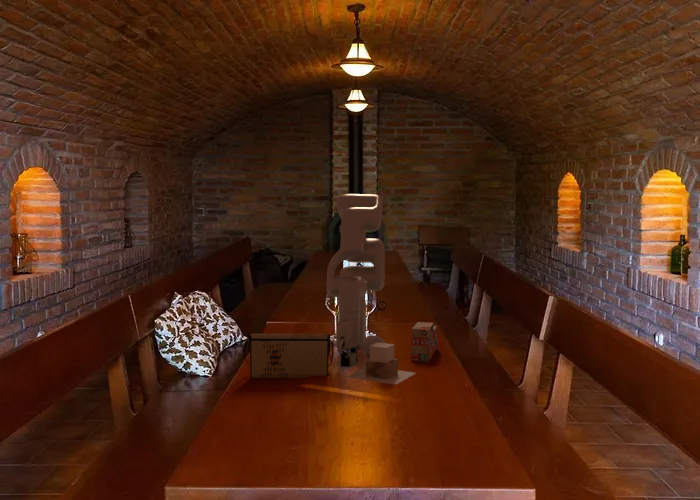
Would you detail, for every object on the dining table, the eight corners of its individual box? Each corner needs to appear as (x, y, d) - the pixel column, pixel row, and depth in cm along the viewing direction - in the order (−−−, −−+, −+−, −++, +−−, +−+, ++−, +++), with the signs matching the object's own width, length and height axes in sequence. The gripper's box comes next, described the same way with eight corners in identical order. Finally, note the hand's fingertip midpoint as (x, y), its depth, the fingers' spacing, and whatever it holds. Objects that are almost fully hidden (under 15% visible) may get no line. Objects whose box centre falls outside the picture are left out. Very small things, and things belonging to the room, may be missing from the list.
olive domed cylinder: (339, 368, 257) (339, 354, 257) (346, 365, 261) (346, 351, 261) (351, 370, 255) (352, 355, 254) (358, 366, 259) (358, 352, 259)
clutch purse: (333, 374, 250) (333, 330, 248) (333, 379, 243) (334, 334, 241) (245, 373, 249) (245, 330, 247) (242, 379, 242) (242, 334, 240)
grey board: (346, 380, 242) (346, 376, 242) (368, 369, 256) (368, 366, 256) (396, 388, 233) (396, 384, 233) (416, 376, 247) (416, 372, 247)
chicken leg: (362, 368, 260) (372, 348, 258) (358, 347, 277) (367, 328, 275) (383, 377, 262) (393, 357, 260) (378, 355, 279) (387, 336, 277)
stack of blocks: (421, 348, 289) (421, 317, 287) (437, 349, 287) (437, 318, 286) (410, 361, 268) (411, 327, 267) (428, 362, 267) (428, 329, 265)
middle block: (369, 360, 243) (369, 345, 242) (377, 357, 248) (377, 342, 247) (386, 363, 240) (386, 348, 239) (393, 359, 245) (394, 344, 245)
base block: (365, 376, 243) (365, 361, 242) (376, 370, 250) (376, 356, 249) (387, 379, 239) (387, 364, 238) (397, 373, 246) (397, 358, 246)
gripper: (351, 310, 265) (350, 360, 267) (327, 318, 251) (327, 370, 252) (370, 312, 262) (369, 362, 264) (347, 320, 247) (346, 373, 249)
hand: (348, 366), depth 258 cm, fingers closed on olive domed cylinder, 4 cm apart
